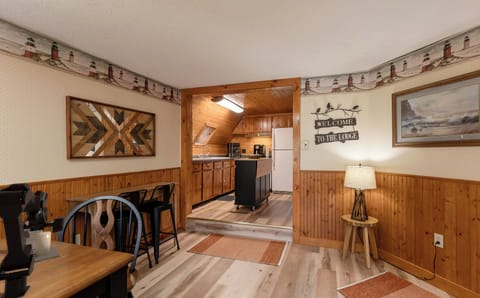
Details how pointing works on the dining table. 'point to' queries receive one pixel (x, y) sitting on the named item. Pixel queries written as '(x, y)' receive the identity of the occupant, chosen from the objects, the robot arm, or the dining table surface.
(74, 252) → the dining table surface
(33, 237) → the syrup box
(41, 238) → the candle jar
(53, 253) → the placemat
